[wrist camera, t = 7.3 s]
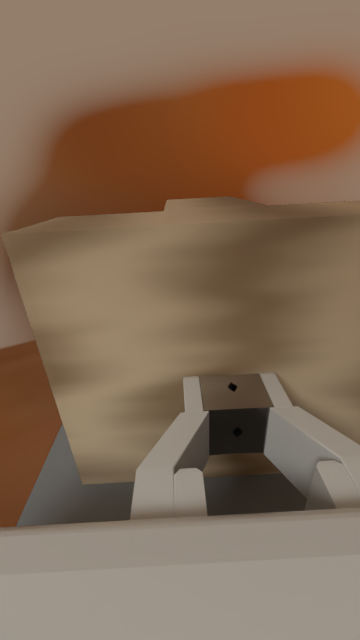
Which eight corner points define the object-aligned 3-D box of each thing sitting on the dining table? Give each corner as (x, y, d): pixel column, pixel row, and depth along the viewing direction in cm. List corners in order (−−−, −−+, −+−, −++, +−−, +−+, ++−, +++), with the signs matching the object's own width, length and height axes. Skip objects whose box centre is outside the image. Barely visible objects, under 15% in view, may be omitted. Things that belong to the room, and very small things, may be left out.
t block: (82, 484, 11) (0, 234, 7) (125, 338, 22) (104, 203, 18) (372, 467, 11) (475, 208, 7) (275, 329, 22) (291, 193, 18)
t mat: (-242, 1115, 4) (-254, 1121, 4) (115, 309, 28) (114, 307, 28) (914, 1039, 4) (928, 1042, 4) (272, 300, 28) (273, 298, 28)
